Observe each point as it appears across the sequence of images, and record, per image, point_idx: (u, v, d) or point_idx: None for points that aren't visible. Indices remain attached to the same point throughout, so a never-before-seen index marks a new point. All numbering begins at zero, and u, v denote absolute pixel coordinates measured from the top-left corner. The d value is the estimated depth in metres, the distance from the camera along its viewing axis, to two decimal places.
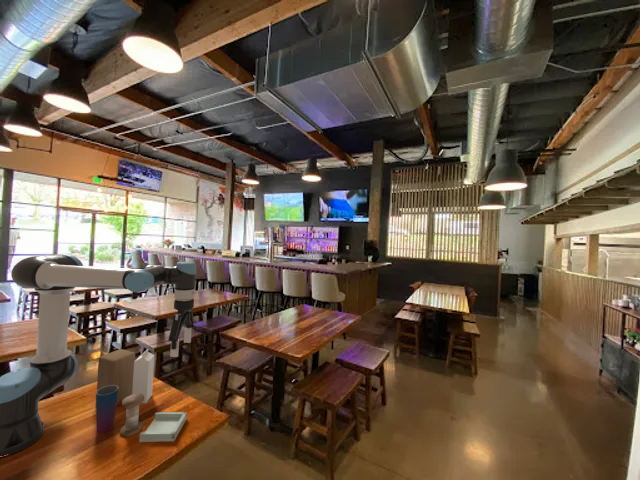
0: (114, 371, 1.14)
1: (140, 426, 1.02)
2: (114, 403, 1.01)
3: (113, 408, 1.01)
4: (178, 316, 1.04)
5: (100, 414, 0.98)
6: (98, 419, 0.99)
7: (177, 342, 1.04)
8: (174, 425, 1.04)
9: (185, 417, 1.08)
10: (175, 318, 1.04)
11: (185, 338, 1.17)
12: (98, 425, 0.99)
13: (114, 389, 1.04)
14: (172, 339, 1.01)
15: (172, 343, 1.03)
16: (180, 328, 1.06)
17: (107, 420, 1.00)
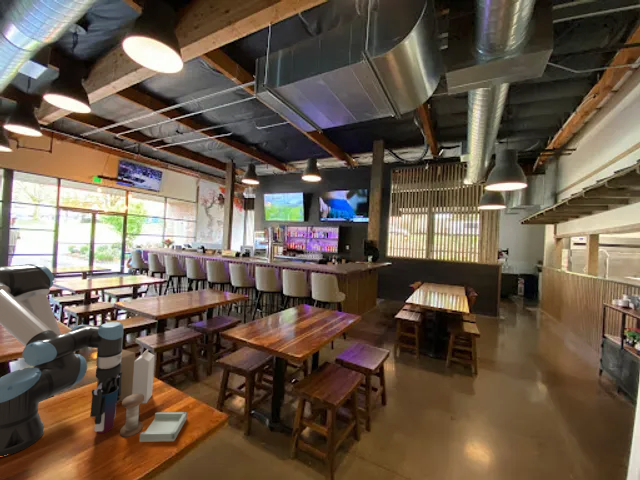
0: None
1: (140, 426, 1.02)
2: (114, 403, 1.01)
3: (113, 408, 1.01)
4: (97, 392, 0.95)
5: None
6: None
7: (102, 415, 0.98)
8: (174, 425, 1.04)
9: (185, 417, 1.08)
10: (94, 394, 0.95)
11: None
12: None
13: None
14: (94, 415, 0.95)
15: (96, 418, 0.96)
16: (104, 400, 0.98)
17: (107, 420, 1.00)
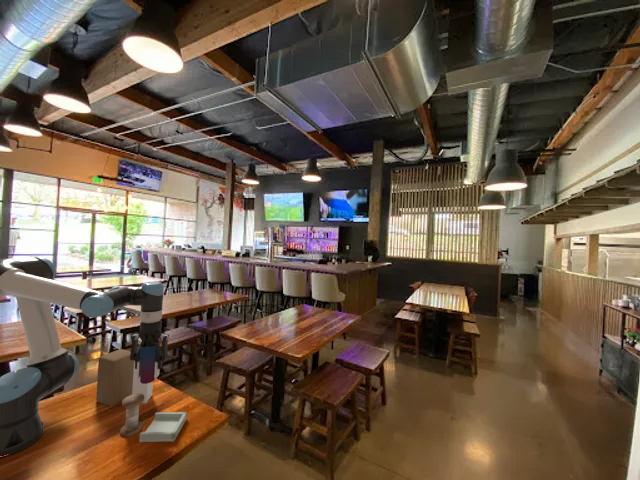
0: (114, 371, 1.14)
1: (140, 426, 1.02)
2: (143, 359, 1.05)
3: (143, 364, 1.05)
4: None
5: None
6: None
7: None
8: (174, 425, 1.04)
9: (185, 417, 1.08)
10: None
11: None
12: None
13: None
14: None
15: None
16: (138, 350, 1.07)
17: (140, 371, 1.06)
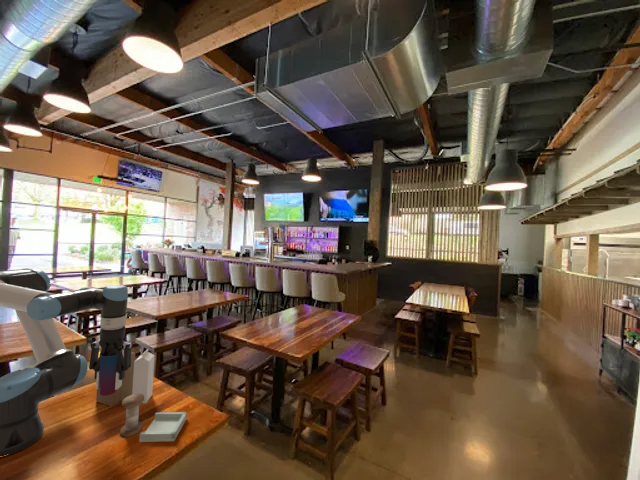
0: None
1: (140, 426, 1.02)
2: (103, 369, 0.97)
3: (102, 374, 0.97)
4: None
5: None
6: None
7: None
8: (174, 425, 1.04)
9: (185, 417, 1.08)
10: None
11: None
12: None
13: None
14: None
15: None
16: (98, 359, 0.98)
17: (100, 382, 0.98)
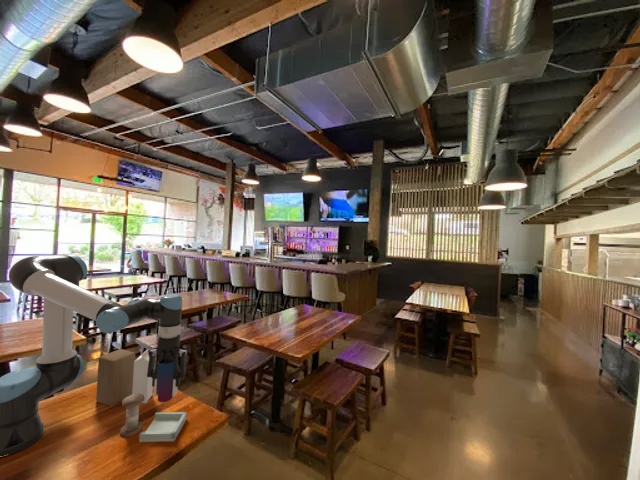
0: (114, 371, 1.14)
1: (140, 426, 1.02)
2: (162, 376, 1.00)
3: (161, 381, 1.00)
4: None
5: None
6: None
7: (155, 381, 1.01)
8: (174, 425, 1.04)
9: (185, 417, 1.08)
10: None
11: None
12: None
13: None
14: None
15: None
16: (156, 366, 1.01)
17: (158, 389, 1.01)
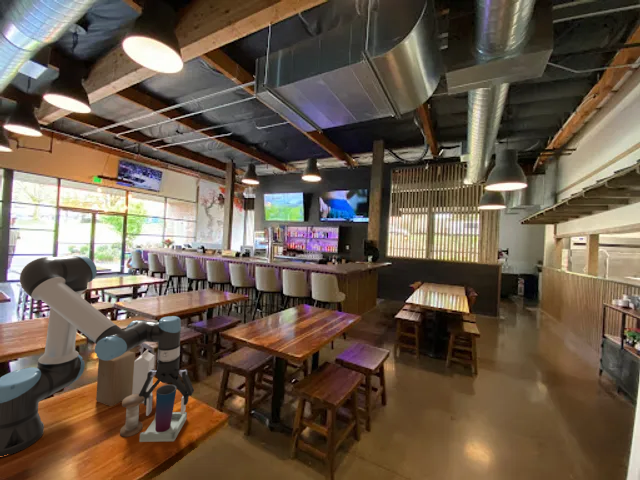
0: (114, 371, 1.14)
1: (140, 426, 1.02)
2: (160, 407, 1.00)
3: (159, 411, 1.00)
4: None
5: None
6: None
7: (147, 400, 1.01)
8: (174, 425, 1.04)
9: (185, 417, 1.08)
10: None
11: None
12: None
13: None
14: None
15: None
16: (151, 387, 1.01)
17: (156, 419, 1.01)
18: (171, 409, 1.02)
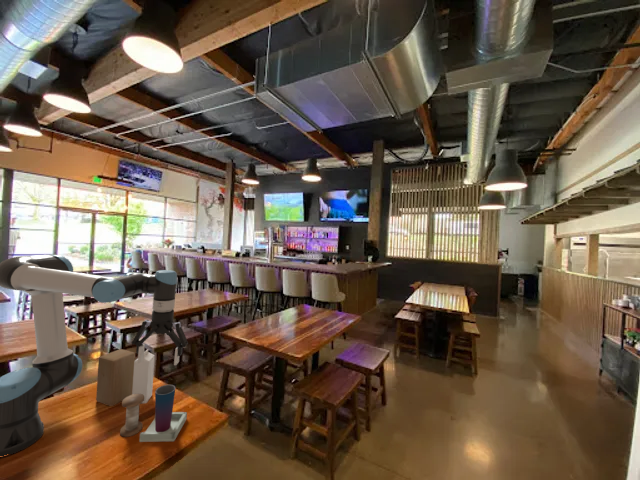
0: (114, 371, 1.14)
1: (140, 426, 1.02)
2: (159, 407, 1.00)
3: (159, 411, 1.00)
4: None
5: None
6: None
7: (139, 348, 1.03)
8: (174, 425, 1.04)
9: (185, 417, 1.08)
10: None
11: None
12: None
13: None
14: None
15: None
16: (144, 336, 1.03)
17: (155, 419, 1.01)
18: (170, 409, 1.02)
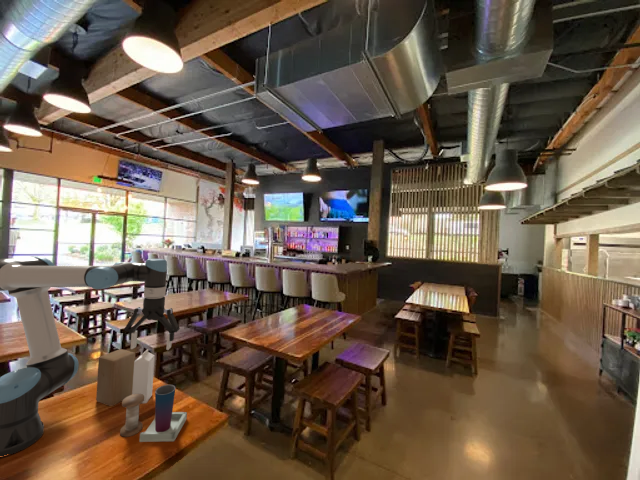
0: (114, 371, 1.14)
1: (140, 426, 1.02)
2: (159, 407, 1.00)
3: (159, 411, 1.00)
4: None
5: None
6: None
7: None
8: (174, 425, 1.04)
9: (185, 417, 1.08)
10: None
11: None
12: None
13: None
14: None
15: None
16: None
17: (155, 419, 1.01)
18: (170, 409, 1.02)
